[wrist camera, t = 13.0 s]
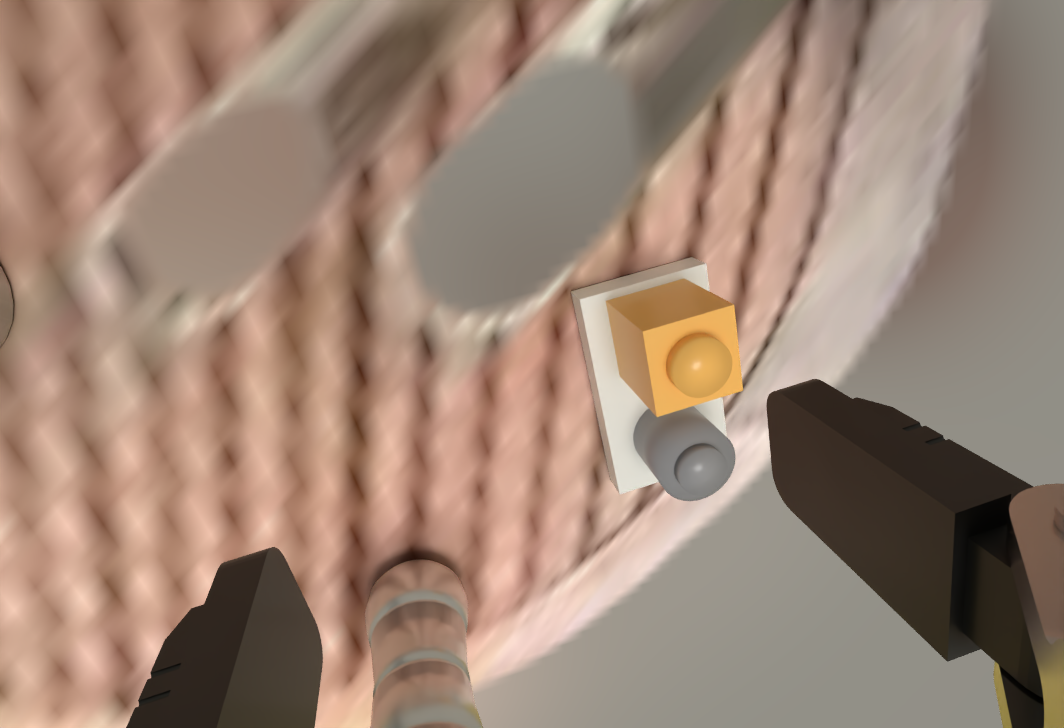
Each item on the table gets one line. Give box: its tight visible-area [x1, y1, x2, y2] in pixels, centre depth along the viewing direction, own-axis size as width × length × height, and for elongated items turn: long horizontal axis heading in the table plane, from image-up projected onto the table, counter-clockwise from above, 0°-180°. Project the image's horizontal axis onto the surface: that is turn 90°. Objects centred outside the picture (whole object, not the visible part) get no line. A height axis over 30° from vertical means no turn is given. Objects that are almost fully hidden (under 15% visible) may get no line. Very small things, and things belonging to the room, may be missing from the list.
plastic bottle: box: [365, 559, 483, 728], centre depth 35 cm, size 6×7×20 cm
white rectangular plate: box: [571, 257, 727, 494], centre depth 41 cm, size 8×14×2 cm, turn 13°
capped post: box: [633, 406, 735, 501], centre depth 39 cm, size 5×5×5 cm
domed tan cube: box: [606, 278, 743, 417], centre depth 35 cm, size 5×5×7 cm
